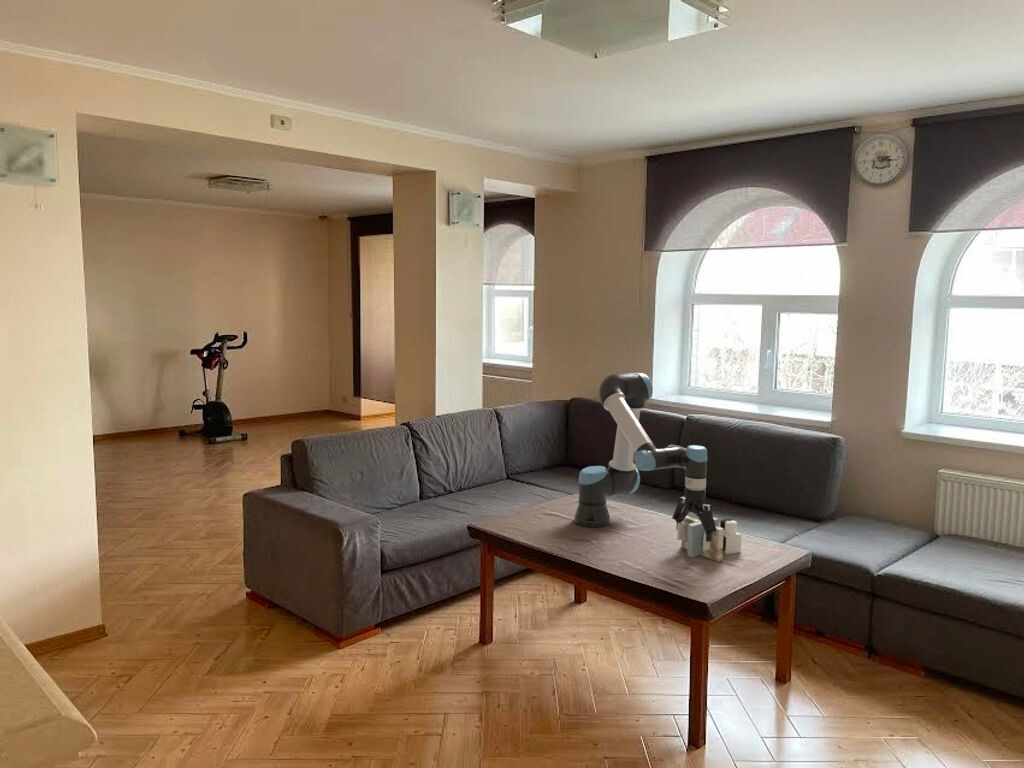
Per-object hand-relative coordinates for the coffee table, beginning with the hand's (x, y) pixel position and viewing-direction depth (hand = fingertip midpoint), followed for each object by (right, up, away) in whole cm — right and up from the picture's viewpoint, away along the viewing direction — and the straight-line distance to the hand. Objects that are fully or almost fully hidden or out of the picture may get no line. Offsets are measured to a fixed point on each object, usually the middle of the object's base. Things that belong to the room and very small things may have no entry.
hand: (693, 544), depth 275 cm
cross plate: (+5, -4, +4) cm, 7 cm away
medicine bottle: (+15, -4, +6) cm, 16 cm away
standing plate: (+4, -4, +3) cm, 6 cm away
